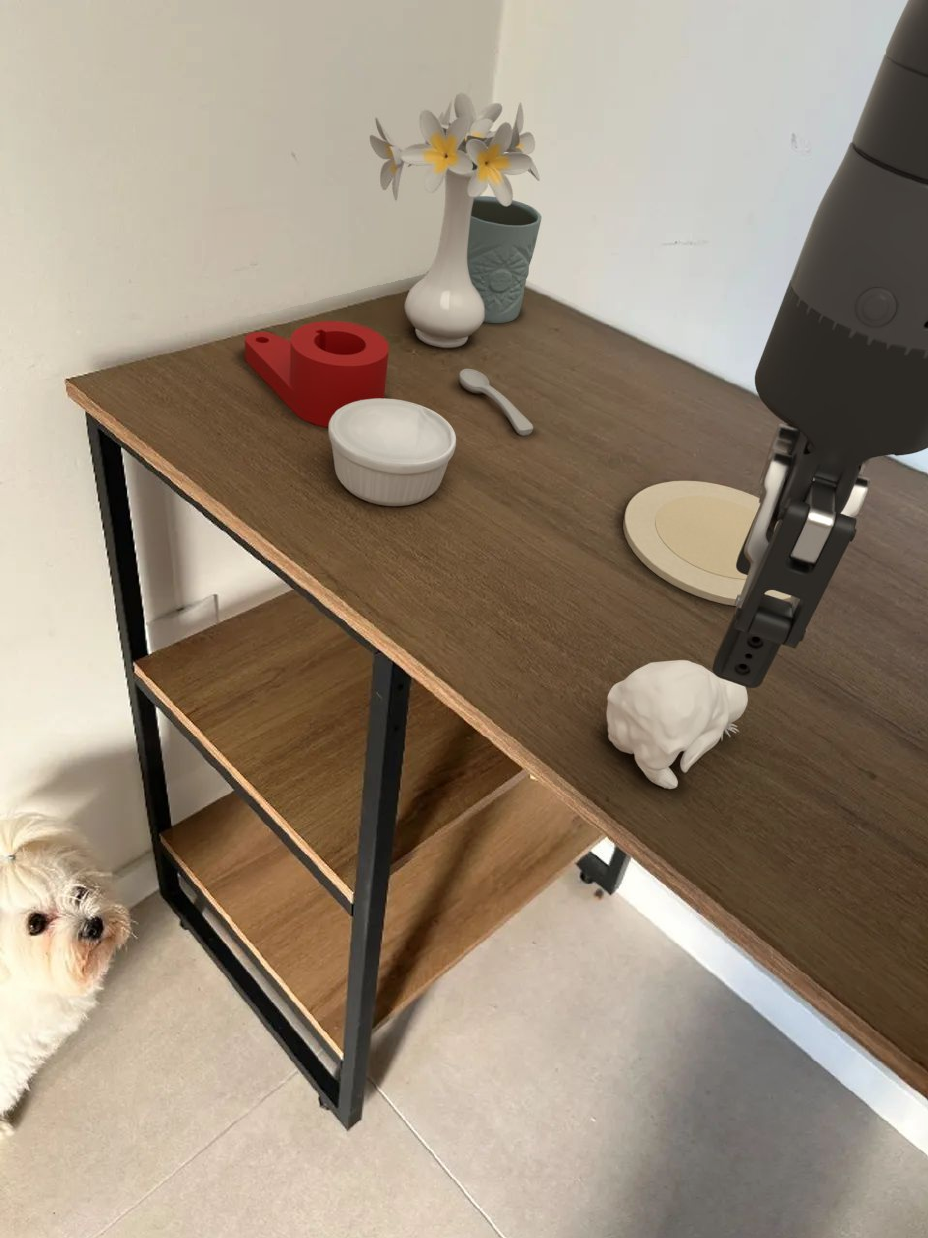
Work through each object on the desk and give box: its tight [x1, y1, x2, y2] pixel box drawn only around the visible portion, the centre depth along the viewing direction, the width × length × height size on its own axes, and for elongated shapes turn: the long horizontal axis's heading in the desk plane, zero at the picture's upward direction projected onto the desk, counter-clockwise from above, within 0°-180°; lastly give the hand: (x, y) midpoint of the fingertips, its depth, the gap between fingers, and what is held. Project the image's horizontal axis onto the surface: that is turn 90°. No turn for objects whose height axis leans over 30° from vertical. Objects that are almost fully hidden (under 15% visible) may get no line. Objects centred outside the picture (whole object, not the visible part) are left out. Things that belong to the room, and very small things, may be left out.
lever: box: [244, 320, 390, 429], centre depth 94 cm, size 18×9×7 cm, turn 49°
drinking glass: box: [467, 195, 542, 324], centre depth 113 cm, size 10×10×12 cm
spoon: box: [458, 368, 534, 436], centre depth 98 cm, size 3×12×2 cm, turn 34°
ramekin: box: [328, 398, 457, 507], centre depth 84 cm, size 11×11×5 cm
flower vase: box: [369, 92, 541, 349], centre depth 100 cm, size 13×18×25 cm
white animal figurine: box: [606, 659, 749, 790], centre depth 63 cm, size 6×8×12 cm
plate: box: [622, 480, 791, 607], centre depth 85 cm, size 18×18×1 cm
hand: (745, 621), depth 45 cm, fingers open, 8 cm apart
